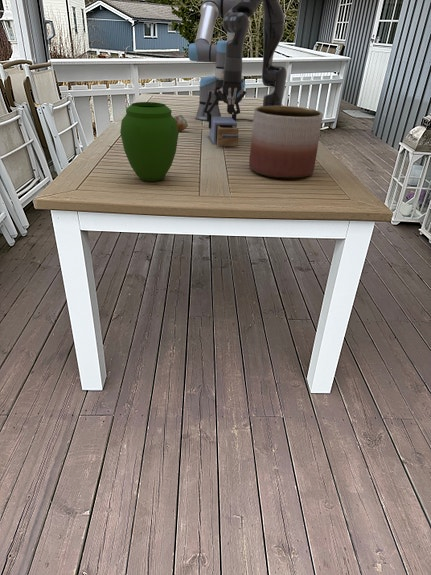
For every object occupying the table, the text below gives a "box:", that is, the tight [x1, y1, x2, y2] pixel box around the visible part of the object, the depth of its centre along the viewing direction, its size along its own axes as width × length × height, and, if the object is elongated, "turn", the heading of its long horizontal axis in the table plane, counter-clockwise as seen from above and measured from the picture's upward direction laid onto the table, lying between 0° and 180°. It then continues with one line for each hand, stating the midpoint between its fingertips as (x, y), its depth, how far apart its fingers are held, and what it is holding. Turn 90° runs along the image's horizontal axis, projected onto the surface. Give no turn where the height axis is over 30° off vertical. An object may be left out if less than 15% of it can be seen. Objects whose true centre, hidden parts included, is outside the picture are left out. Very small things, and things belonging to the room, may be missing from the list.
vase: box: [119, 101, 179, 182], centre depth 140 cm, size 20×20×24 cm
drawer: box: [216, 125, 240, 147], centre depth 192 cm, size 20×10×8 cm, turn 9°
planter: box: [248, 105, 324, 180], centre depth 156 cm, size 25×25×22 cm
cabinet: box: [208, 116, 238, 145], centre depth 200 cm, size 16×11×10 cm
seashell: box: [173, 114, 189, 132], centre depth 214 cm, size 10×6×8 cm, turn 97°
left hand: (221, 128), depth 204 cm, fingers closed on cabinet, 11 cm apart
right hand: (230, 113), depth 180 cm, fingers closed
